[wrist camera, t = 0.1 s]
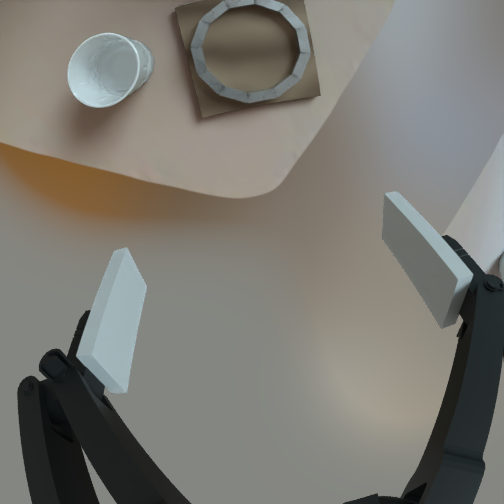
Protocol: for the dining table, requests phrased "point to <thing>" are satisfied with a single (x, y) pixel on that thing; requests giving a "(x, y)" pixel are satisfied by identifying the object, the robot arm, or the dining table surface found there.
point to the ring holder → (248, 52)
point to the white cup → (108, 69)
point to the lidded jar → (501, 267)
